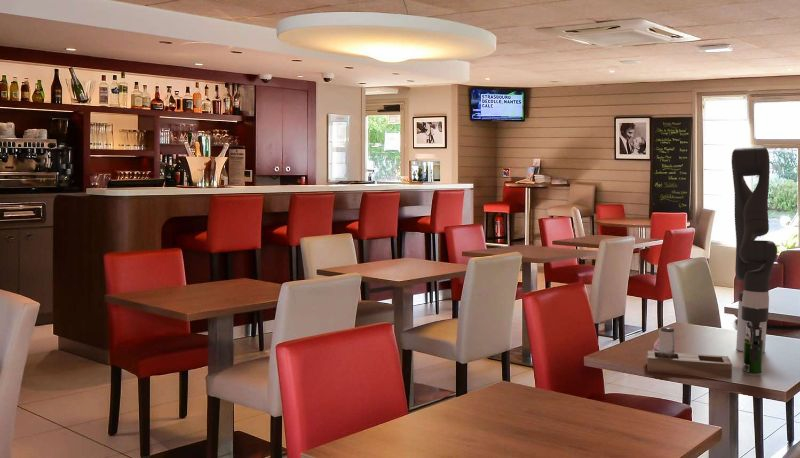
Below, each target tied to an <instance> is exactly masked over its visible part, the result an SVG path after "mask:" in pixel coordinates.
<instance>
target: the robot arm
mask: <svg viewBox="0 0 800 458" xmlns="http://www.w3.org/2000/svg"><path fill="white" fill-rule="evenodd" d="M731 169H732V170H731V172H732V180H733V190H734V191H733V192H734V226H735V229H734V230H735V241H736V242H735V276H736V278H737V280H739V281H742V282H743V291H740V292H739V293H738V305H737V306H738V308H737V327H736V329H737V330H736V347H735V348H736V350H738V351H740V352H743V353H744V338H745V334H749V342H750V343H751V346H750V348H751V355H750V360H751V361H753V362H758V358H759V350H760V349H761V336H763V337H762V338H763V353H765V352H766V339H767V338H766V337H767V324H768V323H767V322H768V321H769V307H770V295H769V291H770V290H769V289H770V288H769V287H770V277H771V272H772V268H773V267H774V264H775V261H776V259H777V257H778V256H777V255H778V247H777V245H776V243H775V242H774V241H771V240H760V239H758V240H757V238H759V237H762V236H766V235H767V234H768V233H769V230H770V224H769V223H770V222H769V210H768V209H769V207H768V206H769V205H768V204H769V203H768V202H769V201H768V200H769V189H770V169H771V168H770V152H769V150H768V148H767V147H765V146H749V147H747V146H746V147H737V148H735V149H733V151H732V153H731ZM755 176H756V177H757V176H758V181H757V184H756V186H755V188H754V190H753V191H752V190H751V189H750V186H748V184H747V182H746V180H745V177H755ZM751 337H752V338H751ZM754 342H757V345H756V344H754Z"/></svg>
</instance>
